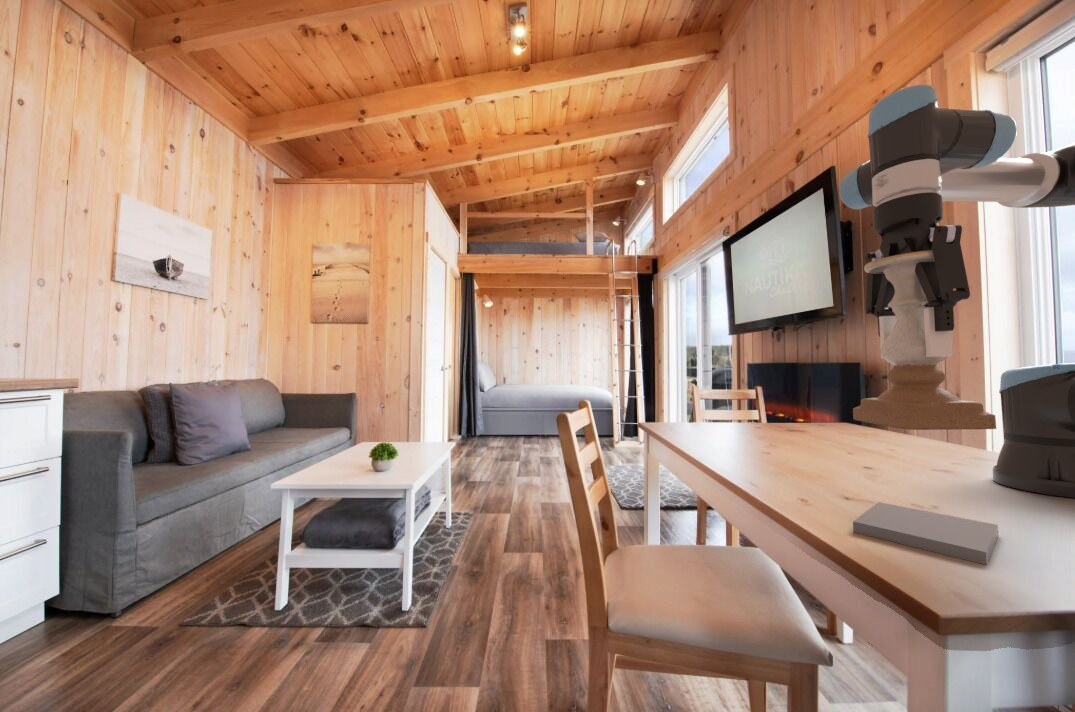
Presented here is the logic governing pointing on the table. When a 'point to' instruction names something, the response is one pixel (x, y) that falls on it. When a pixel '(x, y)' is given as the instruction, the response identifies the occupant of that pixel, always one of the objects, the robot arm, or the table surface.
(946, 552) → the slate tile
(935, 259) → the robot arm
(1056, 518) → the table surface
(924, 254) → the candle holder
